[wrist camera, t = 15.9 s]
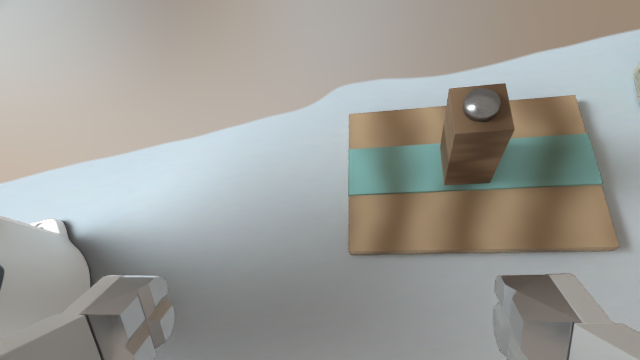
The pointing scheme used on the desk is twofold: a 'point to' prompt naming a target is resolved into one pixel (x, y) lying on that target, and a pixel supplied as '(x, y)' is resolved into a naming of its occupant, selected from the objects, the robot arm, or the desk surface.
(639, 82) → the skincare box
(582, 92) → the desk surface
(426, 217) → the tan flat board
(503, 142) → the walnut post
